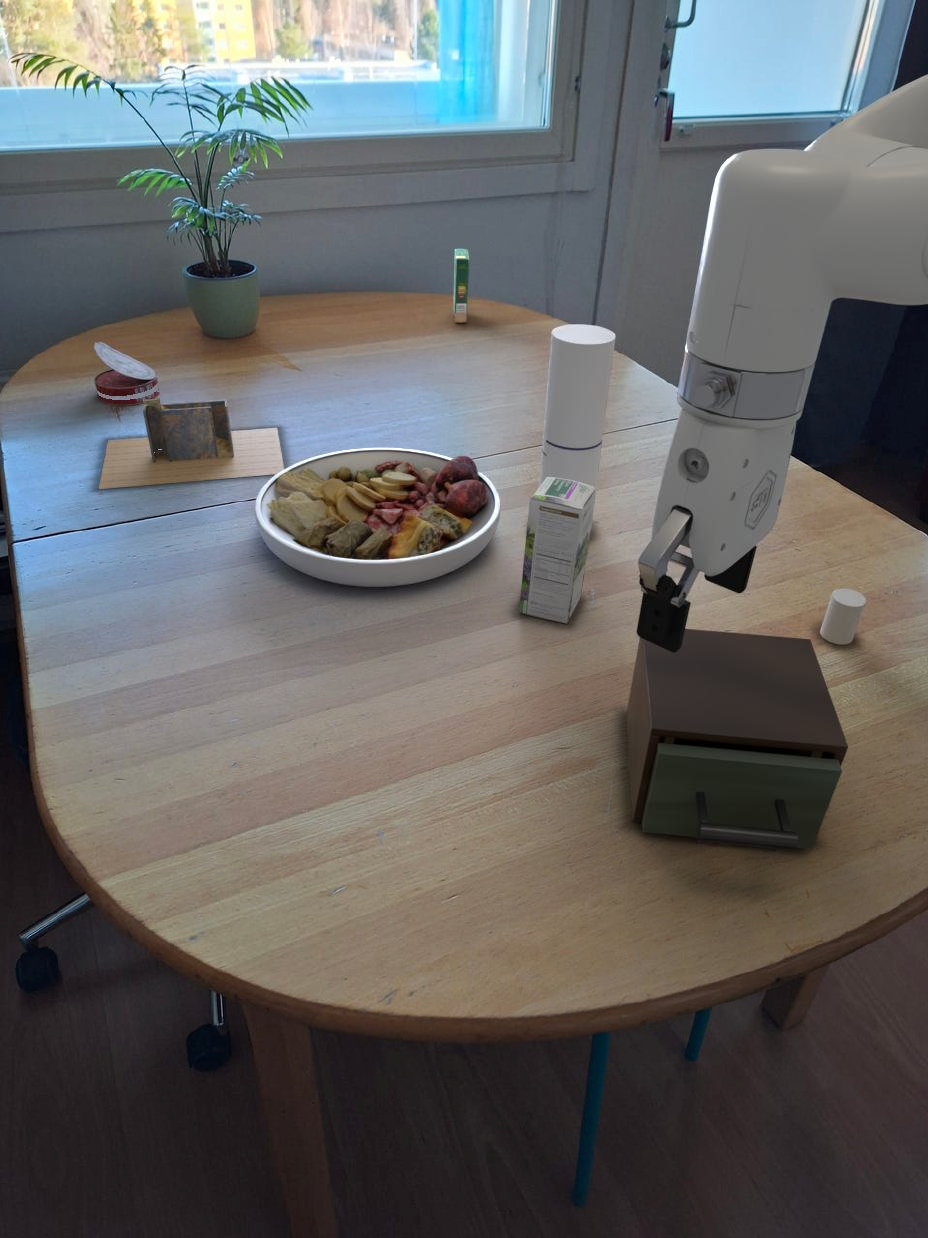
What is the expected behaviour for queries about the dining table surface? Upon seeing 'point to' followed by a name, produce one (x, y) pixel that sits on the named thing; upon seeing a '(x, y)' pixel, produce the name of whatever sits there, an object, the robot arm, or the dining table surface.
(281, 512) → the bowl
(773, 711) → the cabinet
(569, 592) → the syrup box
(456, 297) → the coffee box
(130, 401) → the canned food
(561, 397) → the cylindrical container
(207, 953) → the dining table surface
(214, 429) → the ruin model on sheet
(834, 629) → the white cylinder
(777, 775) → the drawer
